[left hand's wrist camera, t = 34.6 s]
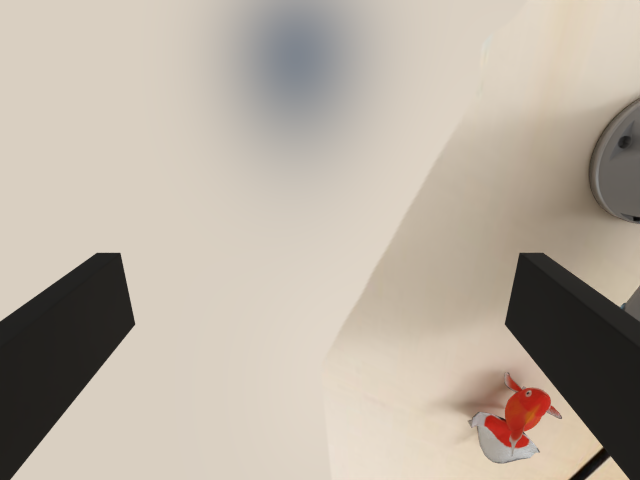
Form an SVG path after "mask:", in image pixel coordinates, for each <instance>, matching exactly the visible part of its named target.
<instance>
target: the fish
mask: <svg viewBox="0 0 640 480" xmlns="http://www.w3.org/2000/svg"><path fill="white" fill-rule="evenodd" d="M504 381H505V385H506V386H507V387H509V388H510V389H511V390H513V391H515V392H517V393H515V394H514V395H513V396H512V397H511V398H510V399H509V400H508V402H507V405H506V408H505V419H506V420H505V419H503V418H501V417H498V416H495V415H493V414H489V413H483V412H478V413H477V414H476V415H475V416H474V417H473V418H472V420H469V421H468V422H469V424H470V426H471V427H474V426H477V427H478V435H479V443H480V446H481V448H482V450H483V452H484V454H485V456H486V457H487V458H488V459H490V460H491V461H492V462H495V463H507V462H512V461H516V460H520V459H526V458H530V457H531V456H532V455H533V454H534V453H537V452H539V450H538V448H537V447H536V446H535V444H534V443H533V442H532V441H531V440H530V439H529V437H528V436H527V435H526V434H525V433H524V432H523V431H527V430H529V429H531V428H533V427H534V426H535V425H536V424H537V423H538V422H539V421H540V419H541V417H542V416H543V415H544V414H545V412H547V413H549V414H551V415H553V416H555V417H557V418H559V419H562V417H561V415H560V413H559V412H558V411H557V410H556V409H555V408H554V407H553V406H551V400H550V397H549V395H548V394H547V393H546V392H544V391H543V390H541V389H538V388H525V387H523V388H522V389H521V388H520V387H519V386H518V385H517V384H516V383H515V382H514V381H513V380H512V379H511V377H510V376H509V373H505V375H504Z"/></svg>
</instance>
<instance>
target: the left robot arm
mask: <svg viewBox="0 0 640 480" xmlns="http://www.w3.org/2000/svg"><path fill="white" fill-rule="evenodd" d="M589 178H590V186H591V189H592V193H593V195H594V197H595V199H596V200H597V202H598V203H599V205H600V206H601V207H602V208H603V209H604V210H606V211H607V212H608V213H610V214H612V215H614V216H616V217H618V218H621V219H623V220H626V221H628V222H632V223H637V224H640V99H638V100H637V101H635V102H633V103H632V104H631V105H629V106H628V107H626V108H625V109H624V110H623V111H622V112H620V113H619V114H618V115H617V116H616V117H615V118H614V119H613V120H612V122H611V123H610V124H609V125H608V126H607V128H606V129H605V130H604V132H603V134H602V135H601V137H600V139H599V140H598V142H597V144H596V147H595V149H594V152H593V155H592V158H591V163H590V171H589ZM134 325H135V321H134V316H133V311H132V307H131V302H130V297H129V292H128V287H127V283H126V278H125V273H124V268H123V263H122V259H121V254H120V253H96V254H95V255H93V256H92V257H91V258H89V259H88V260H86V261H85V262H84V263H82V264H81V265H79V266H78V267H76V268H75V269H74V270H72V271H71V272H69V273H68V274H67V275H65V276H64V277H62V278H61V279H60V280H58V281H57V282H55V283H54V284H52V285H51V286H50V287H48V288H47V289H45V290H44V291H43V292H41V293H40V294H38V295H37V296H36V297H34V298H33V299H31V300H30V301H29V302H27V303H26V304H24V305H23V306H21V307H20V308H19V309H17V310H16V311H14V312H13V313H12V314H10V315H9V316H7V317H6V318H5V319H3V320H2V321H0V480H10V479H11V478H12V477H13V476H14V474H15V473H16V472H17V471H18V469H19V468H20V467H21V466H22V464H23V463H24V462H25V461H26V459H27V458H28V457H29V456H30V454H31V453H32V452H33V451H34V449H35V448H36V447H37V446H38V445H39V443H40V442H41V441H42V440H43V438H44V437H45V436H46V435H47V433H48V432H49V431H50V430H51V428H52V427H53V426H54V425H55V423H56V422H57V421H58V420H59V418H60V417H61V416H62V415H63V413H64V412H65V411H66V410H67V408H68V407H69V406H70V405H71V404H72V402H73V401H74V400H75V398H76V397H77V396H78V395H79V394H80V392H81V391H82V390H83V389H84V387H85V386H86V385H87V384H88V382H89V381H90V380H91V379H92V377H93V376H94V375H95V374H96V372H97V371H98V370H99V369H100V367H101V366H102V365H103V364H104V362H105V361H106V360H107V359H108V358H109V356H110V355H111V354H112V352H113V351H114V350H115V349H116V348H117V346H118V345H119V344H120V343H121V341H122V340H123V339H124V338H125V336H126V335H127V334H128V333H129V331H130V330H131V329H132V328H133V326H134ZM505 325H506V326H507V328H508V329H509V330H510V331H511V333H512V334H513V335H514V336H515V338H516V339H517V340H518V341H519V343H520V344H521V345H522V346H523V348H524V349H525V350H526V351H527V353H528V354H529V355H530V356H531V358H532V359H533V360H534V361H535V363H536V364H537V365H538V366H539V367H540V369H541V370H542V371H543V372H544V374H545V375H546V376H547V377H548V379H549V380H550V381H551V382H552V384H553V385H554V386H555V387H556V389H557V390H558V391H559V392H560V394H561V395H562V396H563V397H564V399H565V400H566V401H567V402H568V404H569V405H570V406H571V407H572V408H573V410H574V411H575V412H576V413H577V415H578V416H579V417H580V418H581V420H582V421H583V422H584V423H585V425H586V426H587V427H588V428H589V430H590V431H591V432H592V433H593V435H594V436H595V437H596V438H597V440H598V441H599V442H600V443H601V445H602V446H603V447H604V448H605V450H606V451H607V452H608V453H609V454H610V456H611V457H612V458H613V459H614V461H615V462H616V463H617V464H618V466H619V467H620V468H621V469H622V471H623V472H624V473H625V474H626V476H627V477H628V478H629V479H630V480H640V286H639V287H638V289H637V290H636V291H635V292H634V294H633V295H632V296H631V298H630V299H629V300H628V301H627V303H624V304H622V306H621V307H619V306H617V305H616V304H614V303H613V302H611V301H610V300H609V299H607V298H606V297H604V296H603V295H602V294H600V293H599V292H597V291H596V290H595V289H593V288H592V287H590V286H589V285H588V284H586V283H585V282H583V281H582V280H580V279H579V278H578V277H576V276H575V275H573V274H572V273H571V272H569V271H568V270H566V269H565V268H564V267H562V266H561V265H559V264H558V263H557V262H555V261H554V260H552V259H551V258H549V257H548V256H547V255H545V254H544V253H520V254H519V259H518V263H517V268H516V273H515V278H514V283H513V287H512V292H511V297H510V302H509V307H508V311H507V316H506V321H505Z"/></svg>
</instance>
